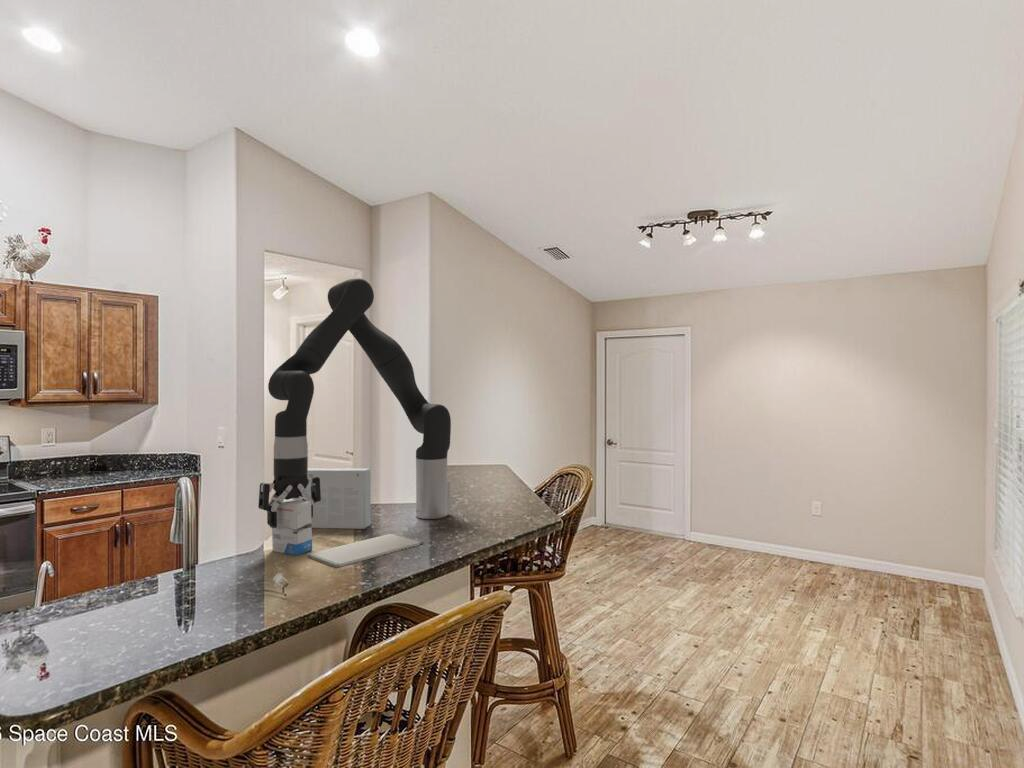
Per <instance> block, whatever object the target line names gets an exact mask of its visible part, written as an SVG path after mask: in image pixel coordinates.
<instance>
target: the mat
mask: <svg viewBox="0 0 1024 768" xmlns="http://www.w3.org/2000/svg"><path fill="white" fill-rule="evenodd" d="M420 544H421V545H424V541H423V540H419V539H416V538H413V537H408V536H404V535H401V534H398V533H394V532H392V533H388V534H383V535H380V536H377V537H371V538H367V539H365V540H364V539H362V540H360V541H356V542H351V543H347V544H343V545H339V546H335V547H331V548H327V549H323V550H319V551H314V552H310V553H306V557H307V556H308V557H307V558H309V557H311V558H310V559H312V558H314V559H316V560H315V561H317V560H319V561H321V562H320V563H322V562H323V563H322V564H325V563H326V564H325V565H327V564H328V566H331V567H334V568H335V569H337V568H341V567H344V566H347V565H352V564H355V563H359V562H363V561H365V560H370V559H373V558H377V557H381V556H384V554H385V555H387V554H391V552H392V553H395V552H394V551H396V552H399V551H402V550H401V549H403V550H406V549H410V548H413V546H414V547H417V546H420ZM409 547H410V548H409ZM405 548H406V549H405ZM398 550H399V551H398ZM314 559H313V560H314ZM319 561H318V562H319Z"/></svg>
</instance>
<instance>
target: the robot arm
mask: <svg viewBox="0 0 1024 768" xmlns="http://www.w3.org/2000/svg"><path fill="white" fill-rule="evenodd" d="M374 295H375V294H374V290H373V287H372V286H371V284H370V282H368V281H367V280H366V279H364V278H361V277H352V278H349V279H346V280H344V281H342V282H339V283H338V284H335V285H333V286H332V287H330V289H329V290H328V292H327V301H328V304H329V306H330V309H331V310H332V311H330V313H329V314H328V316H327V317H325V318H324V320H322V322H320V323H319V324H318V325H317V326H315V328H314V329H313V330H312V331H311V332H309V334H308V335H307V336H306V337H305V339H304V340H303V342H302V343H301V344H300V345H299V347H298V348H297V350H296V351H295V353H294V354H293V355H292V356H290V357H289V358H287V360H285V361H284V362H283V363H282V364H281V365H279V367H277V368H276V369H275V370H274V371H273V372H272V374H271V376H270V378H269V379H268V380H269V381H268V383H267V386H268V387H267V389H268V393H269V395H270V396H271V397H272V398H274V399H275V400H278V401H287V405H286V408H285V409H284V410H282V411H279V412H277V413H276V415H275V419H274V443H273V482H268V483H267V482H260V484H259V488H258V489H259V490H258V491H259V492H258V504H257V505H258V506H257V507H258V509H260V510H263V511H266V513H267V515H266V520H267V525H268V526H269V528H271V529H272V528H276V527H277V512H276V509H277V508H278V506H279V505H280V504H281V503H282V502H283V500H284V499H286V500H287V499H291V498H301V499H302V500H303V501H310V502H311V518H312V517H313V504H314V503H316V502H319V501H320V500H321V492H320V478H319V477H314V476H312V477H311V478H307V473H308V468H309V467H308V466H309V465H308V462H309V455H308V454H309V450H308V447H309V446H308V445H309V444H308V439H307V438H308V437H307V433H308V432H307V431H308V430H307V427H308V425H307V423H308V422H307V421H308V415H309V412H310V408H311V404H312V401H313V397H314V394H315V393H314V391H315V384H314V380H313V378H312V376H311V375H312V374H313V375H314V374H316V373H318V372H319V371H320V370H321V369H322V368H323V366H324V365H325V363H326V362H327V360H328V358H329V357H330V356H331V354H332V353H333V351H334V350H335V348H336V347H337V345H338V344H339V342H340V341H341V340H342V339H343V338H344V336H345V335H346V333H348V332H349V333H350V334H352V336H353V338H355V340H356V341H357V343H358V344H359V346H360V347H361V349H362V351H364V353H365V354H366V356H367V357H368V359H369V360H370V362H371V363H372V365H373V366H374V367H375V369H376V371H377V373H379V375H380V377H381V378H382V379H383V381H384V382H385V383H386V385H387V386H388V387H389V389H390V391H391V393H393V395H394V396H395V397H396V399H397V400H398V402H399V404H400V405H401V407H402V409H403V411H404V414H405V415H406V416H407V419H408V420H409V422H410V424H411V426H412V427H413V429H414V430H415V431H416V432H418V433H419V434H423V437H422V443H421V445H420V446H419V447H417V448H416V450H415V469H416V470H415V495H416V496H415V497H416V498H415V499H416V500H415V502H416V503H415V504H416V505H415V506H416V507H415V515H416V516H415V517H416V518H419V519H423V520H424V519H425V520H435V519H436V520H437V519H443V518H446V517H447V516H449V515H450V514H451V483H450V482H449V481H448V451H449V449H450V445H451V434H452V433H451V430H452V429H451V428H452V425H451V424H452V421H451V420H452V419H451V414H450V411H449V409H448V408H447V407H446V406H444V405H443V404H439V403H430V402H429V401H428V400H427V399H426V398H425V396H424V395H423V394H422V392H421V391H420V389H419V387H418V385H417V383H416V378H415V372H414V368H413V365H412V364H413V363H412V362H411V360H410V359H409V357H408V356H407V354H406V353H405V351H404V349H403V348H402V346H401V345H400V344H399V343H398V342H397V341H396V340H395V339H394V338H393V337H391V336H389V335H388V334H386V333H385V332H384V331H382V330H381V329H379V328H378V327H377V326H375V324H373V323H372V321H371V320H369V318H368V316H367V315H366V314H365V312H367V311H368V310H369V309H370V308H371V307H372V304H373V302H374V298H375V297H374ZM308 483H309V486H311V497H310V495H309V494H308V492H307V491H306V490H305V488H306V487H307V485H308ZM272 490H274V493H273V495H272V496H271V498H270V493H272Z"/></svg>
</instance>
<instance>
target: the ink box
mask: <svg viewBox="0 0 1024 768" xmlns="http://www.w3.org/2000/svg"><path fill="white" fill-rule="evenodd" d="M276 512H277V527H276V528H271V539H272V540H271V541H272V542H271V543H272V544H271V545H272V546H271V547H272V552H276V553H282V554H286V555H291V554H292V556H299V555H302V553H303V554H305V553H308V552H311V551H312V550H313V528H312V523H311V502H310V501H301V500H293V499H287V500H286V499H284V500H283V502H282V503H281V504H280V505H279V506H278V508H277V509H276ZM310 550H311V551H310Z"/></svg>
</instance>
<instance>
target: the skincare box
mask: <svg viewBox="0 0 1024 768" xmlns="http://www.w3.org/2000/svg"><path fill="white" fill-rule="evenodd" d="M371 474H372V472H371V468H352V467H351V468H349V467H345V468H342V467H338V468H330V467H329V468H327V467H326V468H320V467H317V468H314V467H313V468H310V467H308V473H307V478H311V477H312V476H314V477H319V478H320V492H321V500H320V501H319V502H316V503H314V504H313V517H312V518H311V523H312V529H348V530H350V529H351V530H352V529H353V530H354V529H355V530H358V529H361V530H365V529H366V528H368V527H370V526H371V523H372V522H371V518H372V517H371V505H372V504H371V503H372V502H371V500H372V499H371V495H372V494H371V491H372V489H371V483H372V482H371V479H372V478H371V477H372V476H371ZM305 490H306V491H307V492H308V494H309V495H310V497H311V486H309V483H308V485H307V487H306V488H305ZM291 499H293V500H301V501H303V500H302V499H301V498H291Z"/></svg>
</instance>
